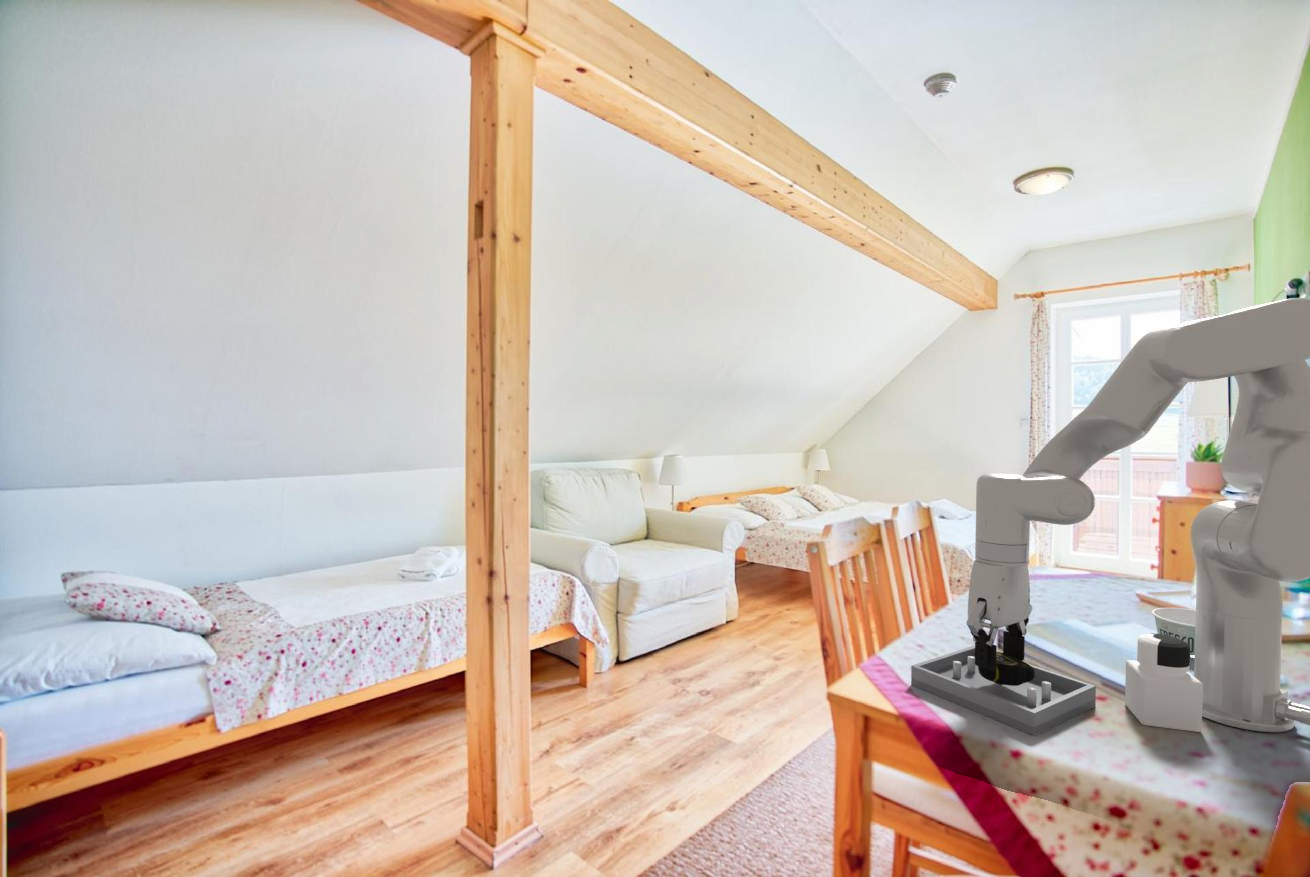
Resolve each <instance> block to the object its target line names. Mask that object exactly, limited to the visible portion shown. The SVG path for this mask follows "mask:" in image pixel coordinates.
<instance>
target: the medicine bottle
mask: <svg viewBox="0 0 1310 877" xmlns="http://www.w3.org/2000/svg"><path fill="white" fill-rule="evenodd" d="M1136 656H1137V657H1136V660H1134V659H1127V660H1126V661H1125V682H1124V683H1125V688H1124V690H1125V691H1124V704H1125V706H1126V707H1127V709H1128V710H1130V712H1131V713H1132V714H1133V715H1134V716H1135V718H1136V719H1137V720H1138V721H1139V722H1140V724H1141V725H1143V726H1147V727H1155V728H1162V729H1170V730H1179V731H1186V732H1196V733H1201V732H1202V731H1203V717H1202V704H1203V684H1202V683H1201V682H1200V681H1199V680H1198V679H1196V678H1195V677H1194V674H1192V673H1191V672H1190V668H1191V667H1190V666H1191V664H1190V661H1191V658H1190V646H1189V645H1188V644H1187V643H1186V642H1184V641H1182V640H1180V639H1178V638H1176V637H1173V636H1169V635H1163V634H1158V633H1146V634H1141V635H1139V636H1138V637H1137V654H1136Z"/></svg>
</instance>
